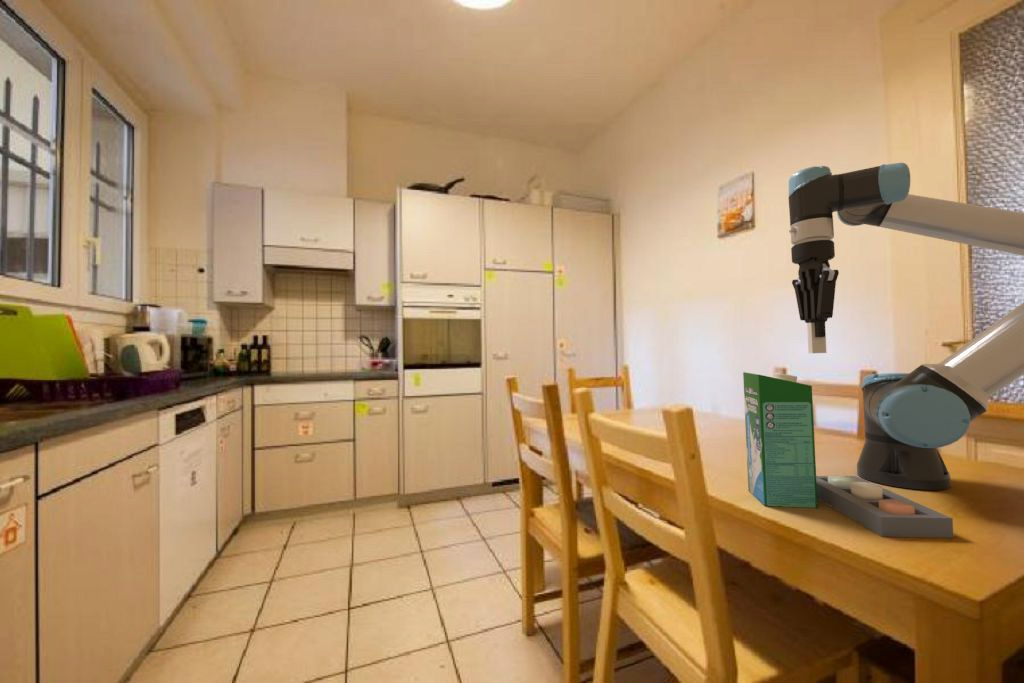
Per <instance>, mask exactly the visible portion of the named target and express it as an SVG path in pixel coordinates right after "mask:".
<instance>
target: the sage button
mask: <svg viewBox="0 0 1024 683" xmlns="http://www.w3.org/2000/svg"><path fill="white" fill-rule="evenodd" d="M827 476H828V483H830V484H832V485H834V486H851V483H852V482H856V480H855V479H853V478H850V477H845V476H846V475H837V474H836V475H827Z"/></svg>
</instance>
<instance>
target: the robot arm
mask: <svg viewBox="0 0 1024 683" xmlns="http://www.w3.org/2000/svg"><path fill="white" fill-rule="evenodd" d="M910 189H911V172H910V168H909V166H908V164H907V163H904V162H895V163H889V164H884V163H883V164H881V165H879V166H872V167H868V168H864V169H858V170H854V171H849V172H843V173H838V174H837V173H836V174H833V173H832V172H831V168H830V167H829V166H826V165H819V166H810V167H807V168H802V169H800V170H798V171H796V172H795V173H793V174H792V175H791V176H790V177H789V179H788V208H789V210H788V211H789V224H790V225H789V227H790V229H789V230H788V232H789V234H790V242H791V244H792V247H791V249H790V251H791V262H792V264H795V265H798V267H799V268H798V272H797V273H798V277H797V279H793V280H792V281H791V285H792V286H793V289H794V294H795V297H796V304H797V308H798V310H797V311H798V315H799V320H800V321H804V322H805V323H806V327H807V328H806V329H807V345H808V346H807V348H808V354H827V336H826V335H827V334H826V322H827V321H828V319H832V318H833V315H834V308H835V307H834V305H835V304H834V303H835V295H836V294H835V293H836V286H837V285H836V283H837V279H838V276H839V274H840V272H839V270H838V269H831V268H830V267H831V265H830V262H829V261H831V260H833V259H834V258H835V257H836V256H835V255H836V253H835V242H834V240H833V239H834V238H835V231H834V219H833V218H834V216H833V213H835V212H837V219H838V220H839V221H840V222H841V223H842V224H844V225H847V226H850V227H856V226H863V225H867V226H872V227H878V228H882V229H883V228H884V229H889V230H892V231H893V230H894V231H899V232H903V233H909V234H914V235H919V236H924V237H928V238H929V237H930V238H933V239H939V240H943V241H949V242H953V243H958V244H963V245H968V246H973V247H978V248H982V249H983V248H984V249H989V250H992V251H993V250H994V251H999V252H1003V253H1008V254H1013V255H1018V256H1022V257H1024V212H1020V211H1014V210H1007V209H1001V208H998V207H997V208H995V207H990V206H984V205H977V204H971V203H966V202H965V203H964V202H960V201H959V202H958V201H952V200H947V199H946V200H945V199H940V198H935V197H929V196H924V195H923V196H922V195H915V194H909V193H910ZM1023 375H1024V302H1022V303H1020V304H1019V305H1018V306H1017V307H1016V308H1014V309H1013V310H1011V311H1010V312H1008V313H1007V314H1006V315H1004V316H1003V317H1002V318H1000V319H999V320H998V321H996V322H994V323H993V324H991V325H990V326H989V327H988V328H986V329H985V330H984V331H982V332H981V333H979V334H978V335H977V336H975V337H974V338H972V339H971V340H970V341H968V342H967V343H965V344H964V345H963V346H962V347H960V348H958V349H957V350H956V351H954V352H953V353H951V354H949V356H947V357H946V358H945V359H943V360H942V361H941V362H939V363H922V364H920V366H918V367H916V368H915V369H914V370H912V371H911V372H909V373H907V372H906V373H905V372H903V373H902V372H901V373H900V372H894V373H892V372H891V373H873V374H867V375H865V376H864V377H863V379H862V384H861V389H860V390H861V391H862V401H863V402H862V403H863V404H862V405H863V420H864V421H863V423H864V425H863V426H864V438H865V439H864V443H863V447H862V449H861V452H860V454H859V457H858V461H857V463H856V475H858V476H859V478H861V479H863V480H866V481H869V482H870V481H871V482H872V483H875V484H876V483H877V484H881V485H886V486H890V487H891V486H892V487H896V488H903V489H913V490H927V491H928V490H929V491H936V490H946V489H949V488H950V487H952V483H951V481H952V480H951V475H950V472H949V470H948V468H947V466H946V464H945V462H944V460H943V457H942V455H941V453H940V451H939V449H938V448H943V447H946V446H949V445H950V446H951V445H952V444H954V443H956V442H958V441H959V440H961V439H962V438H963V437H964V436H965V434H966V433H967V432H968V430H969V427H970V424H971V422H972V421H974V420H976V419H977V418H978V417H980V416H981V415H982V416H983V414H984V413H986V412H987V411H989V398H990V397H991V396H993V395H994V394H996V393H997V392H999V391H1001V390H1002V389H1003V388H1005V387H1006V386H1008V385H1009V384H1011V383H1012V382H1014V381H1016V380H1017V379H1018V378H1020V377H1022V376H1023Z"/></svg>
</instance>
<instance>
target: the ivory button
mask: <svg viewBox="0 0 1024 683" xmlns="http://www.w3.org/2000/svg"><path fill="white" fill-rule="evenodd" d="M872 483H873V482H870V483H867V482H852V483H851V494H852V495H854V496H856V497H858V498H860V499H883V493H882V488H883V487H882V485H879V484H876V483H873V484H872Z"/></svg>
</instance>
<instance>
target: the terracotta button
mask: <svg viewBox="0 0 1024 683" xmlns="http://www.w3.org/2000/svg"><path fill="white" fill-rule="evenodd" d="M879 509H881V510H883V511H885V512H887V513H889V514H909V515H915V507H914V506H913V505H911V504H909V503H905V502H901V501H896V500H879Z"/></svg>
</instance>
